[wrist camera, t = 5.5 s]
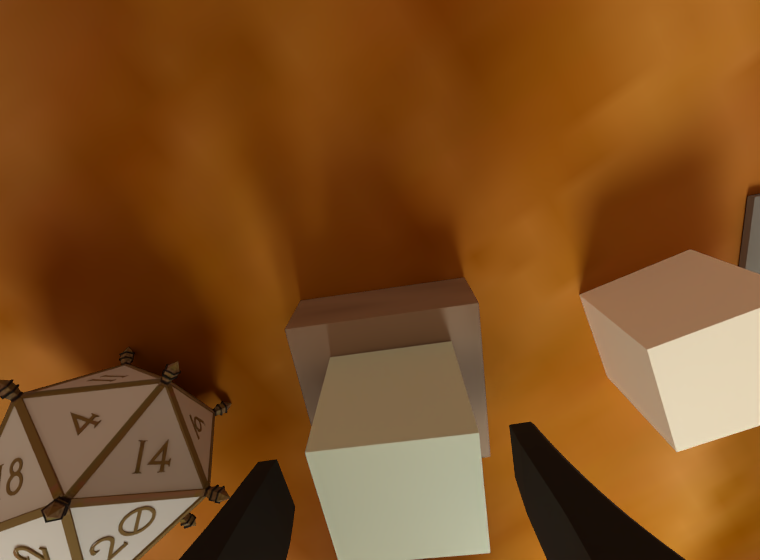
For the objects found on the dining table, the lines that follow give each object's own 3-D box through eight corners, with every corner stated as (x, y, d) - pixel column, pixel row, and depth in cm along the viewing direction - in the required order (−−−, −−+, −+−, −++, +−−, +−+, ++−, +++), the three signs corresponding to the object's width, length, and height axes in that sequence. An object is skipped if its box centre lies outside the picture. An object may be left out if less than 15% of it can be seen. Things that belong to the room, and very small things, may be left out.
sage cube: (462, 437, 15) (490, 552, 11) (353, 449, 16) (339, 566, 11) (451, 341, 14) (479, 433, 9) (330, 357, 14) (304, 452, 10)
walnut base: (474, 408, 18) (490, 456, 16) (334, 424, 19) (324, 474, 16) (462, 274, 16) (478, 303, 13) (302, 297, 16) (284, 329, 14)
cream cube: (709, 338, 16) (819, 406, 12) (606, 375, 17) (676, 452, 13) (689, 248, 15) (805, 290, 11) (578, 293, 16) (647, 349, 12)
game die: (205, 325, 21) (174, 301, 12) (261, 470, 20) (276, 566, 11) (4, 398, 17) (-266, 448, 8) (67, 575, 17) (-142, 836, 8)
